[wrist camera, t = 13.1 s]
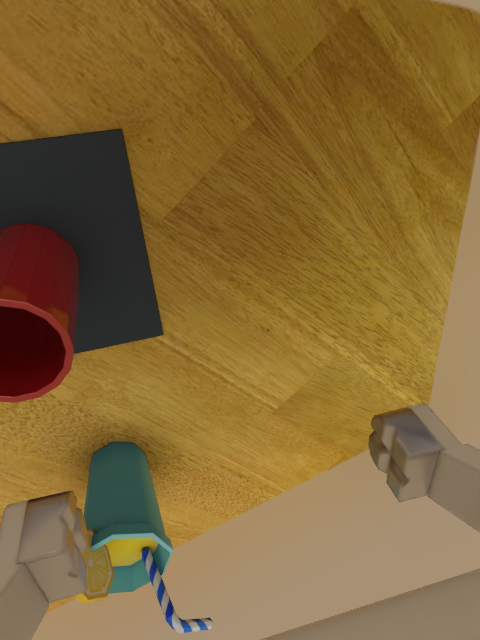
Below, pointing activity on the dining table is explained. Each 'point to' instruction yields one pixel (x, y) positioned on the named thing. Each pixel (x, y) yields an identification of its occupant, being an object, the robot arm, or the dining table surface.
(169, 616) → the cup
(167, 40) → the dining table surface
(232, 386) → the dining table surface
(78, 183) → the corner mat
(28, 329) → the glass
